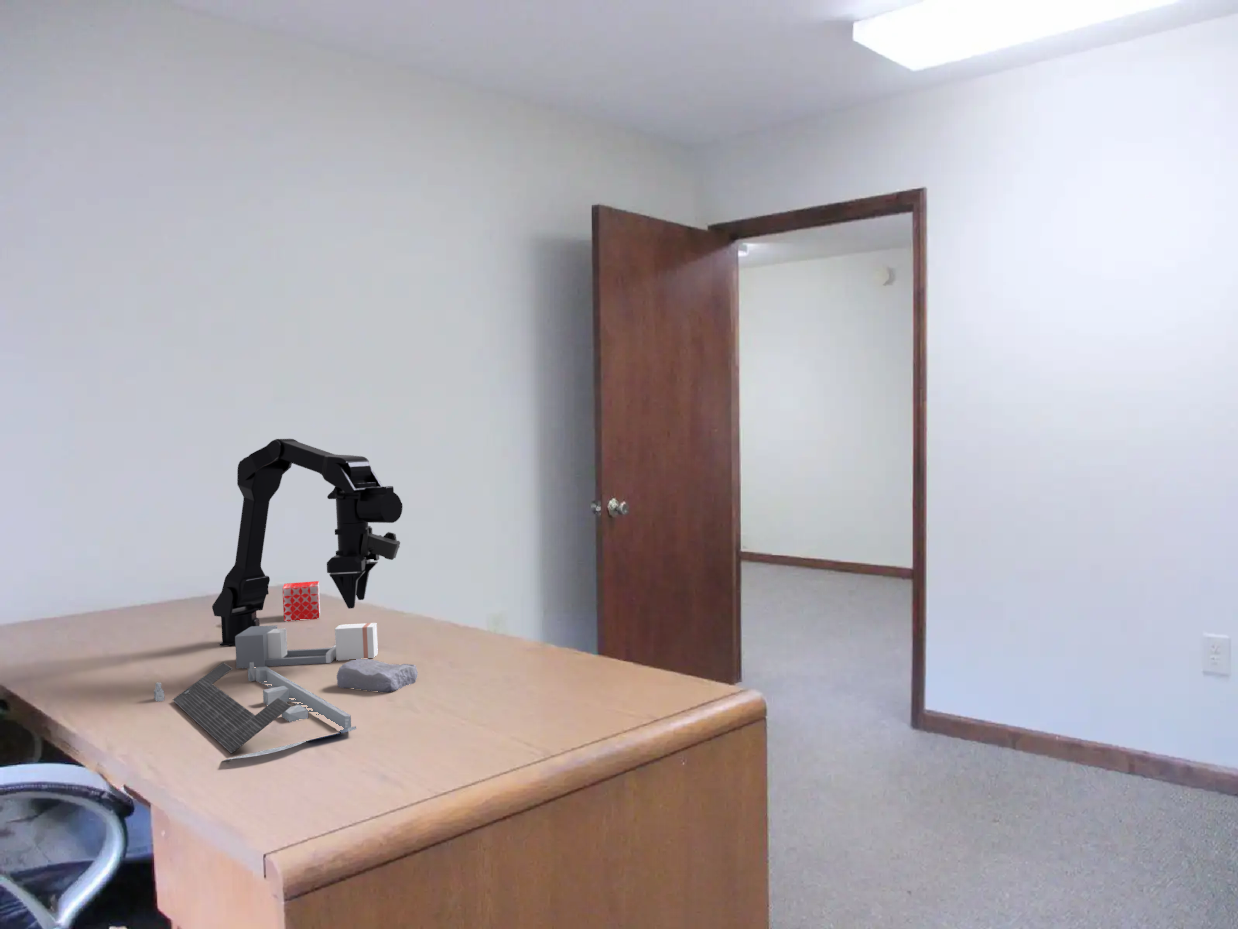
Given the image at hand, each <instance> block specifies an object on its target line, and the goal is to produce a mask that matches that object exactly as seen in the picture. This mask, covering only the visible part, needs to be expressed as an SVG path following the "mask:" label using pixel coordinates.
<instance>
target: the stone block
mask: <svg viewBox="0 0 1238 929" xmlns="http://www.w3.org/2000/svg"><path fill="white" fill-rule="evenodd" d="M418 673H419V672H418V669H417V665H416V664H411V663H410V664H409V663H402V664H395V663H391V664H390V663H387V662H384V661H379V660H377V659H356V660H348V661H347V662H345V663H343V664H342V665H341V666H340V667H339V668H338V670H337V673H336V681H337V683H336V684H337V687H338V688H340V689H346V688H354V689H353V690H355V689H361V690H360V691H363V690H367V691H366V692H372V691H378V692H377V693H380V692H383V693H392V692H391V691H394V692H395V691H399V690H400V689H402V688H403V687H407V686H410V685H412V684H414V683H416V681H417V679H418V675H419V674H418ZM409 684H410V685H409ZM406 685H407V686H406ZM399 688H400V689H399ZM398 689H399V690H398Z"/></svg>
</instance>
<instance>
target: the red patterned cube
mask: <svg viewBox="0 0 1238 929" xmlns="http://www.w3.org/2000/svg"><path fill="white" fill-rule="evenodd" d="M320 602H321V601H320V581H319V580H318V581H317V580H316V581H302V582H289V583H284V584H283V586H282V604H283V605H282V606H283V622H284V621H288V622H292V621H291V620H299V621H301V620H300V619H310V620H318V619H317V618H319V613H320V614H321V604H320Z"/></svg>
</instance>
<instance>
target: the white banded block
mask: <svg viewBox="0 0 1238 929" xmlns="http://www.w3.org/2000/svg"><path fill="white" fill-rule="evenodd" d="M334 636H335V639H334V640H335V644H336V658H335V659H336V662H337V660H338V661H350V660H349V659H356V660H357V659H361V658H374V657H375V656H376V657H377V655H379V650H378V648H379V647H378V646H379V645H378V644H379V643H378V623H377V622H365V623H350V624H349V623H347V624H339V625H338V626H336V627H335V628H334ZM376 657H375V658H376ZM375 658H374V659H375Z"/></svg>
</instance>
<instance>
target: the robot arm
mask: <svg viewBox="0 0 1238 929" xmlns="http://www.w3.org/2000/svg"><path fill="white" fill-rule="evenodd" d="M292 464H293V465H296V466H299V467H302V468H305V469H307V470H310V471H313V472H315V473H319V475H321V476H322V478H323V479H324V481H325V482H327V483H329V484H330V485H332V486H334V488H333V490H332V491H331V492H330V493H329V494H328V495H327V499H328V500H335V508H336V509H335V510H336V529H334V535H336V536H337V550H336V551H335V555H334V556H332V557H330V559H329V560H328V561H327V562H326V574H329V577H330V578H331V580H332V581H333V583H334V585H335V587H336V588H337V589H338V593H340V596H341V597H342V600H343V602H344V603H345V606H346V607H347V608H348V609H354V608H355V606H356V599H357V600H358V601H363V600H365V598H366V597H365V596H366V592H367V586H368V582H369V577H370V576H369V575H370V572H371V571H372V569H374V567H375V566H376V565H378V563H379V562H378V561H379V560H380V557H383V558H384V559H387V560H389V561H390V560H391V561H392V560H394V559H396V557H397V554H398V551H399V549H400V548H401V547H400V545H401V542H400V540H398V539H397V535H396V533H395V532H391V531H388V532H386V533H385V534H384V535H383V536H382V535H380V534H379V535H378V534H375V533H373V527H371V525H369V523H373V524H374V523H378V524H380V523H383V524H388V523H389V524H393V523H396V522H397V521H398V520H399V519H400V518H401V516H402V513H403V502H402V500H401V498H400V496H399V495H398V494H397V493H396V492H394V491H395V490H394V486H393V485H386V486H383V484H382V482H381V481H380V480H379V478H378V476H377V475H376V473H375V471H374V469H373V468H372V466H371V464H370V460H369V459H368V458H366V456H361V455H350V454H335V453H331V452H329V451H326V450H323V449H321V448H317V447H314V446H311V445H309V444H305V443H303V442H299V441H298V440H297V439H294V438H275V439H273V440H271V441H270V442H269V443H268V444H267V445H266V446H264V447H262V448H260V449H258V450H256V451H253V452H252V453H250V454H249V455H248V456H246V457H244V458H242V459H241V460H240V461H239V462H238V464H237V474H236V475H237V479H236V480H237V481H236V482H237V487H238V488H239V489H238V490H240V492H241V495H242V497H243V500H242V502H243V503H242V509H241V516H240V524H239V529H238V530H239V531H238V532H239V533H238V538H237V546H236V555H235V562H234V564H233V565H234V566H232V568H231V569H230V570H229V572H228V573H227V574H226V575H225V578H224V582H223V585H222V588H221V592H220V593H219V595H218V597H217V598H216V599H215V601H214V603H213V604H212V606H211V608H212V612H213V616H214V617H219V618H220V621H221V623H220V624H221V642H220V643H218V645H219V647H222V646H223V647H224V646H235V636H237V635H238V634H240V633H241V632H243V631H245V630H246V629H248V628H249V627H251V626H261V625H260V618H259V617H257V611H263V610H264V604H265V600H266V598H267V595H269V585H270V581H271V579H270V576H269V575H266V574H265V572H264V571H263V568H262V560H263V559H262V558H263V552H264V543H265V537H266V530H267V523H268V517H269V516H268V515H269V507H270V501H271V499H272V498H273V496H274V495H275V494H276V493H277V491H278V490H279V488H280V487H281V483H282V478H283V475H284V474H285V473H286V472H288V471H289V470H290V469H291V468H292ZM371 560H373V561H371Z"/></svg>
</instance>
